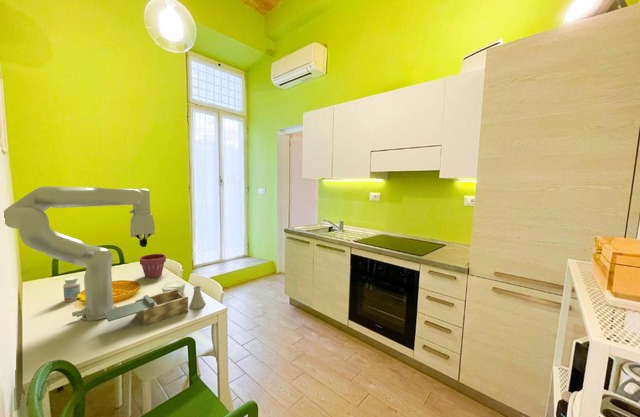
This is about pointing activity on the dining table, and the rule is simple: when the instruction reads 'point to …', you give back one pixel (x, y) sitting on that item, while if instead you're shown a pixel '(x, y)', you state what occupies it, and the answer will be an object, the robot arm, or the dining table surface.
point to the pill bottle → (71, 289)
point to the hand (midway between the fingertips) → (143, 246)
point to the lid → (129, 309)
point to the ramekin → (174, 286)
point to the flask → (197, 299)
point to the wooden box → (164, 307)
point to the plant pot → (153, 265)
